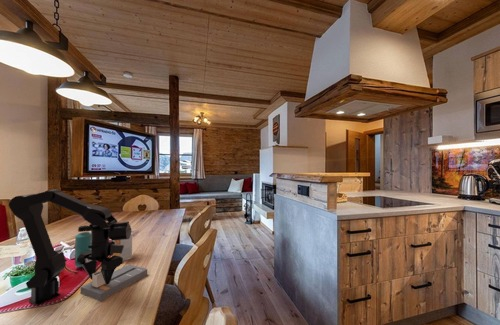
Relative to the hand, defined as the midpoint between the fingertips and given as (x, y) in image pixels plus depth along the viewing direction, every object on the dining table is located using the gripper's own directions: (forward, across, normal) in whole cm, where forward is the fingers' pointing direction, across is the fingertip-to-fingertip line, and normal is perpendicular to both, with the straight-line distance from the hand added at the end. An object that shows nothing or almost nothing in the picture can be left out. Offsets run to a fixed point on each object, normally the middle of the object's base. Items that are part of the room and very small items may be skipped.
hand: (100, 281), depth 81 cm
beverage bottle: (+4, +29, -10) cm, 31 cm away
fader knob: (+2, 0, 0) cm, 2 cm away
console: (+4, 0, -6) cm, 8 cm away
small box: (+4, +21, -24) cm, 32 cm away
